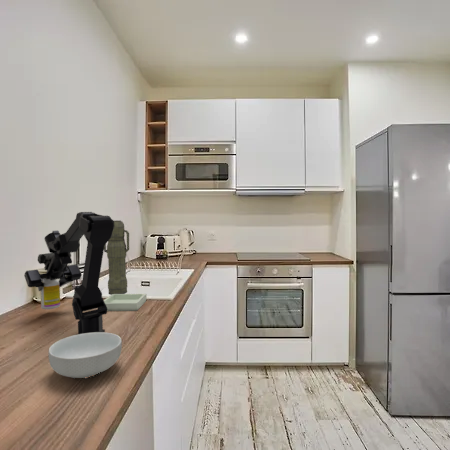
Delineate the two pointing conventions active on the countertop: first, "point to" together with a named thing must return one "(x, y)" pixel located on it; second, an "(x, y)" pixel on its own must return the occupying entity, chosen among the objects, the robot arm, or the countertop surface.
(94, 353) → the cereal bowl
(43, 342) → the countertop surface
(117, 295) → the tray
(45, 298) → the supplement bottle
